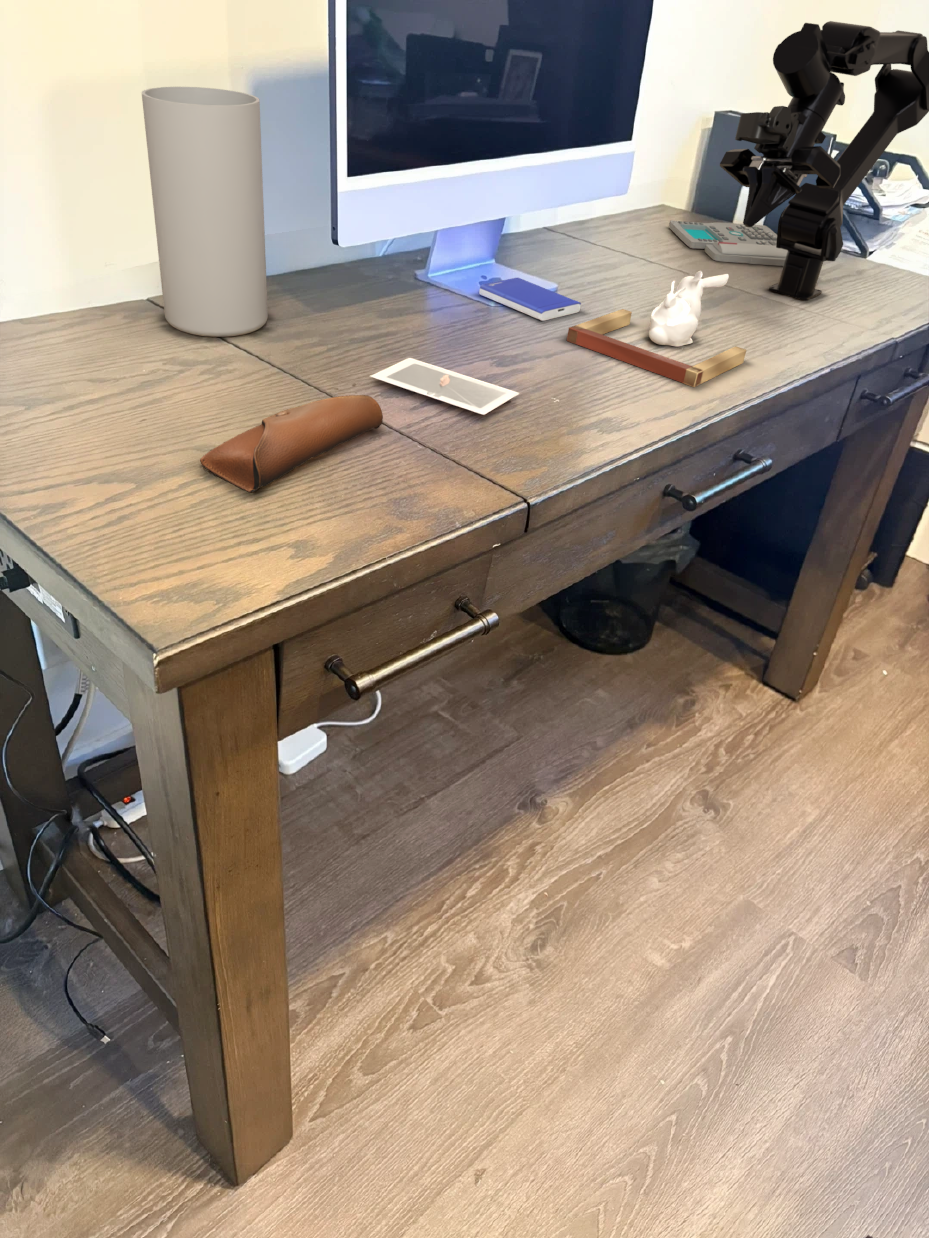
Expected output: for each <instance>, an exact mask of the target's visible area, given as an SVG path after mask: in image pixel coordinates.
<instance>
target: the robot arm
mask: <svg viewBox="0 0 929 1238" xmlns="http://www.w3.org/2000/svg"><path fill="white" fill-rule="evenodd" d="M928 48H929V47H928V38H927V36H925V35H923V33H920V32H913V31H906V30H896V31H892V32H890V31H883V32H882V31H880V30H878V29H877V28H874V27H872V26H869V25H862V24H856V23H855V24H854V23H848V22H840V21H832V20H829V21H827V22H825V23H824V24H823V25H822V26H821V27H820V24H819V23H811V22H804V24H803V25H802V27H801V29H800V30H798V31H795V32H793V33H791V34H790V35H788V36H786V37H785V38H784V39H783V40H782V41H781V42H780V43H779V44H777V46H776V48H775V50H774V52H773V54H772V55H773V56H772V63H773V68H774V69H775V71H776V73H777V75H778V77H779V79H780V81H781V83H782V85H783V87H784V89H785V91H786V93H787V94H788V95H789V96H790V97H792V98H791V99H790V102H789V103H788V105H787V106H786V105H777V106H773V107H772V109H771V110H770V111H769V112H768V111H767V112H766V111H765V112H762V111H755V112H753V111H752V112H746V113H745V112H744V113H743V112H742V113H740V116H739V119H738V120H739V121H738V124H737V128H736V133H735V137H734V140H735V141H738V142H742V141H744V142H748V143H752V144H755V146H754V147H753V148H754V150H755V151H756V152H757V153H759V154H761V155H756V154H755V153H754V152H753V151H751V150H750V148H733V149H730V150H728V151H726V152H725V153H724V155H723V157H722V159H721V161H720V162H719V167H720V168H721V169H722V170H723V171H725V172H726V173H727V174H728V175H729V176H730V177H732V178H733V179H734V180H735V181H736V182H737V183H738V184H740V185H741V186H743V187H745V188H748V193H747V200H746V206H745V211H744V215H743V220H742V224H744V225H745V226H746V227H752V226H754V225H757V224H758V223H759V222H760V221H762V219H764V218H765V217H767V216H768V215H769V214H770V213H771V212H773V211H774V210H775V209H777V208H778V207H780V206H781V205H782V204H784V203H785V202H787V201H788V202H787V206H786V207H785V208H784V209H783V210H782V212H781V213H780V216H779V218H778V222H777V233H776V234H777V243H776V248H781V249H785V250H788V252H787V255H786V259H785V262H784V266H782V270H781V273H780V277H779V280H778V283H776V284H773V285H771V286H769V287H768V291H771V292H774V293H777V294H779V295H780V294H781V295H784V296H788V297H790V298H794V299H797V300H802V301H809V300H811V299H813V298H815V297H817V296H820V295H822V293H823V290H821V289H818V288H816V287H817V284H818V281H819V277H820V274H821V271H822V267H823V266H824V265H823V264H824V263H825V262H835V261H836V259H837V258H838V257H839V256H840V254H841V252H842V249H843V247H844V240H843V235H842V230H841V227H842V226H843V219H844V206H845V204H846V203H847V201H848V200H850V197H851V196H852V195H853V193H854V192H855V191H856V190H857V188H858V187H859V186H860V184H862V182H863V180H864V179H865V178H866V176H867V175H868V174H869V172H870V171H871V170H872V168H873V167H874V165H876V163H877V161H878V160H879V159H880V158H881V156H882V155H883V153H884V152H885V151H886V150H887V149H888V147H889V146H890V145H891V143H892V142H893V140H894V139H895V138H896V136H897V135H898V134H901V133H902V132H905V131H907V130H909V129H911V128H913V127H915V126H917V125H918V124H919V123H920V122H921V121H922V120H923V119H924V118H925V117H926V115H927V114H929V49H928ZM874 65H875V66H876V65H880V66H881V65H882V66H881V68H880V69H879V71H878V72H877V74H876V75H875V77H874V86H875V93H874V95H873V112H872V113H871V114H870V116H869V118H868V119H867V120H866V121H865V123H864V124H863V126H862V127H861V128H860V130H859V131H858V132H857V133H856V135H855V136H854V137H853V139H852V140H851V142H849V144H848V145H847V147H846V148H845V149H844V151H843V152H842V153H841V155H840V156H839V157H838V159H835V158H833V156H832V155H830V153H829V152H827V151H826V150H825V149H824V148H823V147H822V146H820V144H823V143H824V141H825V140H826V138H827V135H825V134H824V133H823V132H822V131H823V129H824V128H825V126H826V124H827V122H828V121H829V118H831V115H832V113H833V111H834V109H835V108H836V106H843V105H844V104H845V102H846V93H845V90H844V88H845V82H842V81H840V78H839V77H838V76H837V74H841V75H847V76H851V77H858V76H860V75H862V74H864V73H867V72H869V71H870V70H871V67H872V66H874ZM892 65H906V66H910V70H906V69H899V68H892ZM815 144H816V145H815ZM817 144H819V145H817ZM808 175H817V177H816V179H815V184H813V183H809V182H805V183H803V184H802V185H801V183H802V182H803V180H804V179H805V178H807V176H808Z"/></svg>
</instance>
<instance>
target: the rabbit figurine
mask: <svg viewBox="0 0 929 1238" xmlns="http://www.w3.org/2000/svg"><path fill="white" fill-rule="evenodd" d="M729 277H730V275H729V274H728V273H723V274H719V275H712V276H707V277H704V278H703V271H702V270H698V271H696V273H695V274H694V275H686V276H685V277H683V278H681V280H680V281H679V283H678V284H677V286H676V289H675V283H676V280H673V281H671V283H670V291H669V292H668V293H667V294H666V295H665V296H664V299H663V300H662V301H661V303H660V304H659V305H657V306H655V307H654V308H653V309H652V311H651V314H650V317H649V326H648V327H649V331H648V337H649V339H650V340H651V341H652V342H653V343H655V344H657V345H659V346H672V347H683V346H685V345H690V344H693V342H694V341H693V339H692V336H693V335H694V333H695V332H696V330H697V329H698V325H699V320H700V317H701V315H702V301H701V300H702V297H703V295H704V288H721V287H723V286H725V285H727V282H728V281H729ZM674 290H675V292H674Z"/></svg>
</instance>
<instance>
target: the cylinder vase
mask: <svg viewBox="0 0 929 1238" xmlns="http://www.w3.org/2000/svg"><path fill="white" fill-rule="evenodd" d="M141 103H142V111H143V112H142V113H143V120H144V130H145V139H146V148H147V159H148V167H149V168H148V169H149V177H150V179H149V180H150V187H151V196H152V207H153V216H154V225H155V234H156V247H157V251H158V252H157V255H158V262H159V263H158V264H159V265H158V266H159V273H160V283H161V292H162V293H161V294H162V301H163V303H162V304H163V312H164V318H165V320H166V322H167V323H168V324H169V325H170V326H171V327H173V328H174V329H176V330H178V331H181V332H183V333H186V334H190V335H194V336H201V337H212V338H226V337H227V338H228V337H237V336H243V335H247V334H250V333H254V332H255V331H258V330H260V329H261V328H262V327H263V326H265V324H266V323H267V321H268V317H269V313H268V288H267V287H268V286H267V261H266V260H267V259H266V258H267V257H266V235H265V231H266V230H265V209H264V208H265V207H264V185H263V183H264V181H263V179H264V178H263V158H262V157H263V153H262V134H261V133H262V131H261V127H262V126H261V106H260V105H261V104H260V98H259V97H258V96H255V95H253V94H249V93H245V92H241V91H236V90H229V89H223V88H213V87H202V86H201V87H200V86H160V87H150V88H146V89H143V90H142V91H141Z"/></svg>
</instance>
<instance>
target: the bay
mask: <svg viewBox="0 0 929 1238" xmlns="http://www.w3.org/2000/svg"><path fill="white" fill-rule="evenodd" d="M632 314H633V312H632V311H630V310H627V309H624V308H622V309H618V310H616V311H612V312H611V313H607V314H604V315H601V316H599V317H596V318H593V319H590V320H587V321H584V322H581V323H578V324H576V325H572V326H570V327H568V330H567V336H566V341H567V342H568V343H571V344H574V345H577V346H579V347H583V348H585V349H588V350H591V351H593V352H596V353H599V354H602V355H605V356H607V357H609V358H613V359H616V360H618V361H621V362H623V363H627V364H630V365H631V366H635V367H638V368H641V369H643V370H645V371H649V372H650V373H654V374H656V375H659V376H662V377H665V378H667V379H671V380H673V381H677V382H679V383H682V384H684V385H687V386H690V387H692V388H696V387H698V386H699V385H701V384H704V383H706V382H707V381H710V380H712V379H714V378H716V377H718V376H720V375H722V374H724V373H726V372H729V371H730V370H732V369H734V368H736V367H738V366H740V365H742V364H744V362H745V358H746V354H747V349H745V348H742V347H740V346H733V347H731V348H729V349H727V350H725V351H723V352H720V353H718V354H716V355H714V356H712V357H709V358H708V359H705V360H702V361H701V362H699V363H697V364H695V365H690V364H687V363H684V362H681V361H679V360H675V359H672V358H669V357H667V356H664V355H662V354H658V353H656V352H653V351H650V350H648V349H644V348H641V347H638V346H637V345H632V344H630V343H628V342H624V341H621V340H618V339H616V338H613V337H610V336H607V335H605V334H608V333H611V332H613V331H616V330H619V329H622V328H624V327H627V326H629V325H631V324H630V323H631V319H632Z"/></svg>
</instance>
